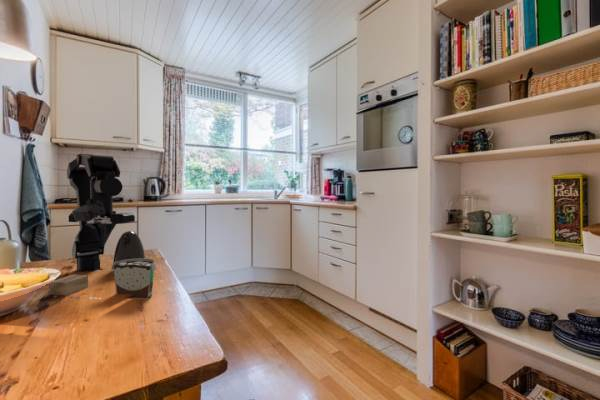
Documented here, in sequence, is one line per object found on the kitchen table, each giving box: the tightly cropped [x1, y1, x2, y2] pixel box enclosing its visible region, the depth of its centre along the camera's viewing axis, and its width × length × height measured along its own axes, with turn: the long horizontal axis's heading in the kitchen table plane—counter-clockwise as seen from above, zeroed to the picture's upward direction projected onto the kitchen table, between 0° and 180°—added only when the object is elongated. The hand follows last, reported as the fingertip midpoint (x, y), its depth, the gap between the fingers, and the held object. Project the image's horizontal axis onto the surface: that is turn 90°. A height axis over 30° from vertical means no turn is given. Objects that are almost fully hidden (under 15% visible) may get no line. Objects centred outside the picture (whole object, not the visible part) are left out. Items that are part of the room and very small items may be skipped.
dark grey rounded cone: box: [112, 230, 146, 263], centre depth 104 cm, size 10×10×15 cm
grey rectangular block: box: [49, 274, 89, 296], centre depth 83 cm, size 5×7×4 cm
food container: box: [110, 258, 158, 300], centre depth 83 cm, size 12×6×10 cm, turn 85°
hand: (102, 244), depth 91 cm, fingers closed
